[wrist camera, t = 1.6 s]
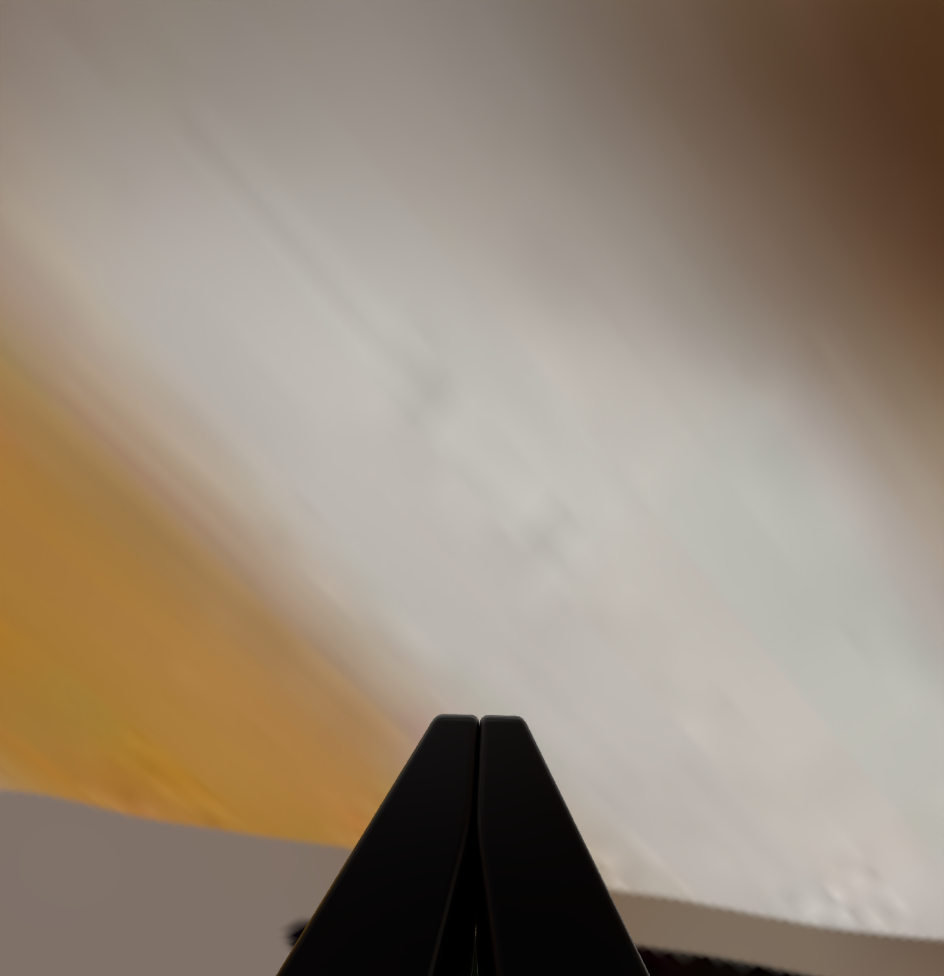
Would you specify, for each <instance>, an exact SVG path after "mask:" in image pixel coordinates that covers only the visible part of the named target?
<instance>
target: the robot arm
mask: <svg viewBox="0 0 944 976" xmlns="http://www.w3.org/2000/svg"><path fill="white" fill-rule="evenodd" d="M475 932H476V951H477V969H478V976H650V975H649V973H648V971H647V969H646V967H645V965H644V963H643V961H642V959H641V957H640V955H639V953H638V950H637V948H636V946H635V944H634V942H633V940H632V938H631V936H630V934H629V932H628V930H627V928H626V926H625V924H624V922H623V920H622V918H621V916H620V914H619V912H618V910H617V908H616V905H615V903H614V901H613V900H612V897H611V895H610V893H609V891H608V889H607V887H606V885H605V883H604V881H603V879H602V877H601V875H600V873H599V871H598V869H597V867H596V865H595V863H594V860H593V858H592V856H591V854H590V852H589V850H588V848H587V846H586V844H585V842H584V840H583V838H582V836H581V834H580V832H579V830H578V828H577V826H576V824H575V822H574V820H573V818H572V815H571V813H570V811H569V809H568V807H567V805H566V803H565V801H564V799H563V797H562V795H561V793H560V791H559V789H558V787H557V785H556V783H555V781H554V779H553V777H552V775H551V773H550V770H549V768H548V766H547V764H546V762H545V760H544V758H543V756H542V754H541V752H540V750H539V748H538V746H537V744H536V742H535V740H534V738H533V736H532V734H531V732H530V730H529V728H528V725H527V724H526V722H525V721H524V720H523V718H521V717H519V716H502V715H486V716H484V717H482V719H481V720H480V726H479V720H478V718H477V717H476V716H474V715H458V714H441V715H438V716H437V717H435V719H434V720H433V721H432V722H431V724H430V726H429V727H428V729H427V730H426V732H425V734H424V735H423V737H422V739H421V740H420V742H419V743H418V745H417V747H416V748H415V750H414V752H413V753H412V755H411V757H410V758H409V760H408V761H407V763H406V765H405V766H404V768H403V770H402V771H401V773H400V774H399V776H398V778H397V779H396V781H395V783H394V784H393V786H392V787H391V789H390V791H389V792H388V794H387V796H386V797H385V799H384V801H383V802H382V804H381V805H380V807H379V809H378V810H377V812H376V814H375V815H374V817H373V818H372V820H371V822H370V823H369V825H368V827H367V828H366V830H365V831H364V833H363V835H362V836H361V838H360V840H359V841H358V843H357V845H356V846H355V848H354V849H353V851H352V853H351V854H350V856H349V858H348V859H347V861H346V863H345V864H344V866H343V868H342V869H341V871H340V873H339V874H338V876H337V877H336V879H335V880H334V882H333V884H332V885H331V887H330V889H329V890H328V892H327V893H326V895H325V897H324V898H323V900H322V902H321V903H320V905H319V907H318V908H317V910H316V911H315V913H314V915H313V916H312V918H311V920H310V921H309V923H308V924H307V926H306V928H305V929H304V931H303V933H302V934H301V936H300V937H299V939H298V941H297V942H296V944H295V946H294V947H293V949H292V950H291V952H290V954H289V955H288V957H287V959H286V960H285V962H284V964H283V965H282V967H281V968H280V970H279V972H278V973H277V975H276V976H472V968H473V959H474V949H475Z"/></svg>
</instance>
